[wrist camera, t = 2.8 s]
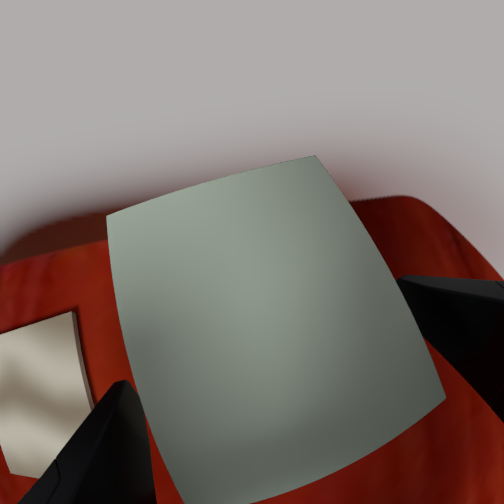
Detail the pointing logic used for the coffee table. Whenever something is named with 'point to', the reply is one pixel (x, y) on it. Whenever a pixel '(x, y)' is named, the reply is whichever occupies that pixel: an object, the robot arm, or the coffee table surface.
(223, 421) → the bulging sage box
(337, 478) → the coffee table surface
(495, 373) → the robot arm
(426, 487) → the coffee table surface
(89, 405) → the birch coaster
